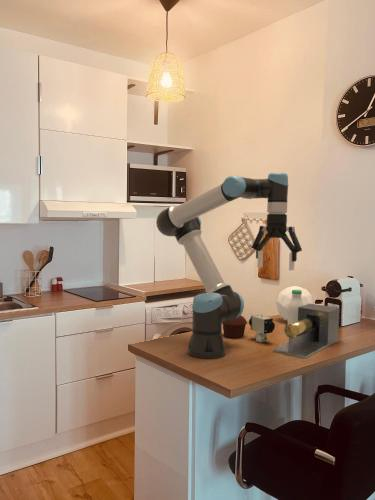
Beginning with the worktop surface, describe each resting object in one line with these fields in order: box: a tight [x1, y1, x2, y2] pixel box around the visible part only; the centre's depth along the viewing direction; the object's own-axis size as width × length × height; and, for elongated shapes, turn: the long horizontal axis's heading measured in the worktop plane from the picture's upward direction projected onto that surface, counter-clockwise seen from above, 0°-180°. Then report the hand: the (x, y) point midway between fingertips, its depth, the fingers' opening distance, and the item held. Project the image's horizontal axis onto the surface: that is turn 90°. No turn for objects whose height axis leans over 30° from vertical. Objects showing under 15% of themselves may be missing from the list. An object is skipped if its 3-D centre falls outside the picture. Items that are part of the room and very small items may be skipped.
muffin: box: [222, 314, 248, 340], centre depth 203 cm, size 12×11×10 cm
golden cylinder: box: [284, 319, 312, 339], centre depth 182 cm, size 6×15×6 cm, turn 141°
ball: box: [275, 285, 315, 322], centre depth 232 cm, size 19×20×20 cm
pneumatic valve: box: [248, 313, 276, 344], centre depth 194 cm, size 6×12×12 cm, turn 35°
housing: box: [272, 303, 340, 359], centre depth 188 cm, size 14×34×15 cm, turn 141°
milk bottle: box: [286, 290, 304, 325], centre depth 213 cm, size 8×8×20 cm
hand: (275, 268), depth 171 cm, fingers open, 13 cm apart
